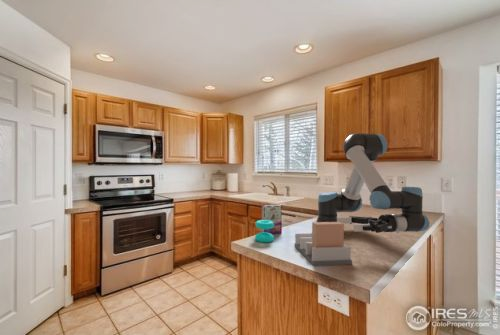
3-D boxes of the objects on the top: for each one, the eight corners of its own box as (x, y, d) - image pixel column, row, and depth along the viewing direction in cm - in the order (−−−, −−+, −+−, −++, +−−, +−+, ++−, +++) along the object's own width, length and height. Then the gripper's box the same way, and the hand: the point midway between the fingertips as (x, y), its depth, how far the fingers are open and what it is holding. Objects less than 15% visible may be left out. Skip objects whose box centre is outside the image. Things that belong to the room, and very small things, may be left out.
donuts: (266, 224, 119) (251, 221, 125) (266, 244, 119) (251, 240, 125) (277, 221, 127) (262, 218, 133) (277, 240, 127) (262, 236, 133)
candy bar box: (278, 231, 145) (278, 204, 145) (281, 233, 140) (282, 205, 140) (261, 232, 142) (261, 204, 142) (263, 234, 137) (264, 206, 137)
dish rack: (294, 246, 117) (294, 232, 117) (325, 245, 119) (325, 232, 119) (313, 265, 93) (314, 249, 93) (351, 264, 95) (352, 248, 95)
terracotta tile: (311, 255, 100) (312, 222, 100) (338, 254, 102) (338, 221, 102) (315, 258, 96) (316, 224, 96) (343, 257, 98) (343, 223, 98)
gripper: (414, 240, 90) (362, 241, 88) (373, 224, 115) (331, 225, 112) (414, 220, 90) (362, 221, 88) (373, 209, 115) (331, 209, 112)
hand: (345, 223), depth 100 cm, fingers open, 13 cm apart
